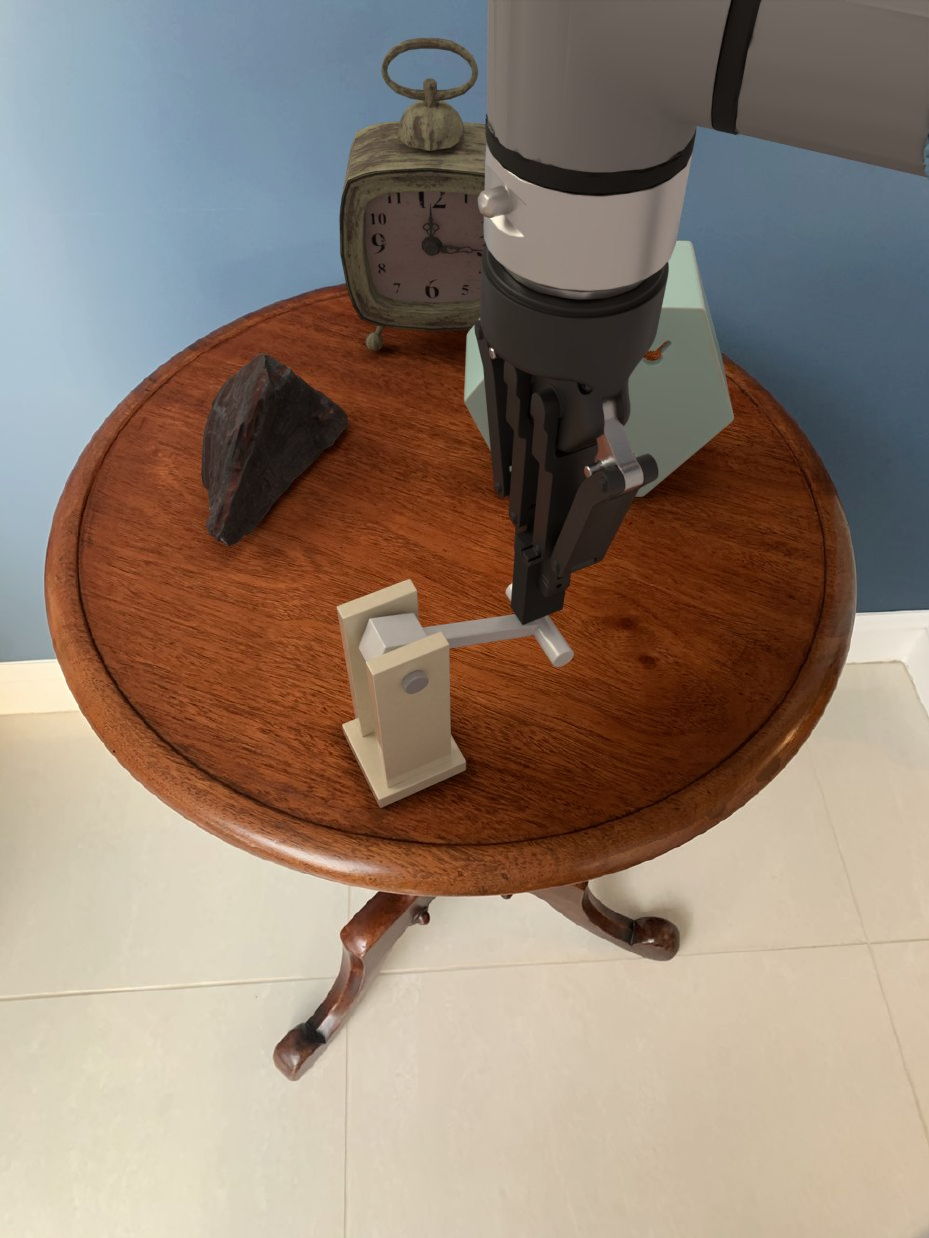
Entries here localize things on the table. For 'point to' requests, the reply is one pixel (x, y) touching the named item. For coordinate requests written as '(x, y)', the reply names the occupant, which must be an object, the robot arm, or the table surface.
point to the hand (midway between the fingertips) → (536, 607)
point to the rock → (261, 443)
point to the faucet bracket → (398, 701)
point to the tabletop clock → (416, 211)
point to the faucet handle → (463, 634)
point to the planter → (658, 377)
